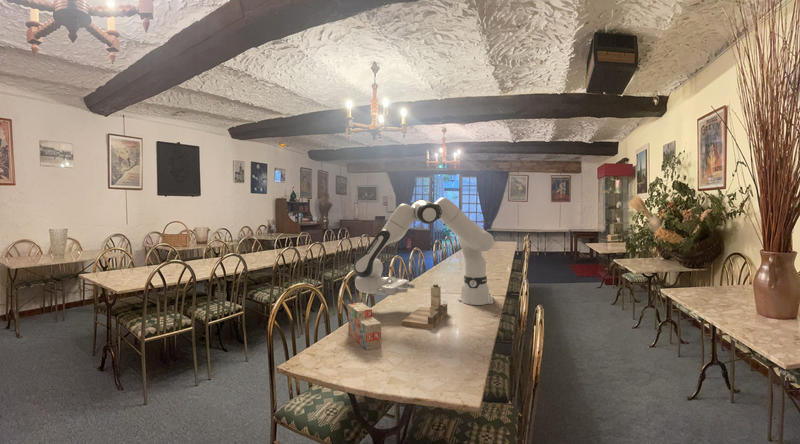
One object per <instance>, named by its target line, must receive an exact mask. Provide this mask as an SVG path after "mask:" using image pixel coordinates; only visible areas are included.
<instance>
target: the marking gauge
mask: <svg viewBox="0 0 800 444" xmlns="http://www.w3.org/2000/svg"><path fill="white" fill-rule="evenodd" d="M441 291H442V289H441V285H439V284H437V283H436V284H435V283H434V284H433V285H432V286H430V306H429V308H430V313H433V312H434V311H435V310H436V309H438V308H439V307H440V306H441V305H442V304H443V303H442V302H441V301H442V297H441V294H442V293H441Z"/></svg>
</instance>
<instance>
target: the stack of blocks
mask: <svg viewBox="0 0 800 444" xmlns="http://www.w3.org/2000/svg"><path fill="white" fill-rule="evenodd" d="M347 319H348V326H347V327H348V334H349V335H351V337H352V338H353V339H354V340H355V341H357V342H358V343H359V344H360V345H361V346H362V348H363V349H365V350H366V351H368V350H372V349H378V348H382V322H380V321H379V320H378V319H376V318H375V317H373V309H372V308H371V307H369V306H368V305H366V304H365V303H363V302H355V303H349V304H347Z"/></svg>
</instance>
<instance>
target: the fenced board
mask: <svg viewBox="0 0 800 444" xmlns="http://www.w3.org/2000/svg"><path fill="white" fill-rule="evenodd" d="M441 304H442V305H441V306H440V307H439V308H438V309H436V310H435V311H434V312H433V313H430V307H423V306H422V307H421V306H420V307H418V308H417V309H415V310H414V311H413V312H412V313H410V314H409V315H408V316H406V317H405V318H404V319H402V320H401V326H403V327H410V328H411V327H413V328H418V329H419V328H420V329H428V330H433V329H434V328H435V327H436V326H437V325H439V323H440V322H441V321H443V319H444V318H445V317H447V315H448V303H441Z"/></svg>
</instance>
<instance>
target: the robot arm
mask: <svg viewBox="0 0 800 444" xmlns="http://www.w3.org/2000/svg"><path fill="white" fill-rule="evenodd" d="M437 220H440V221H441V222H442V223H443V224H444V225H445V226H446V227H447V228H448V229H449V230H450V231H451V232H452V233H453V234H455V235H456V236H457V242H458V245H460V248H461V251H462V255H463V259H464V276H463V282H464V283H463V284H461V288H460V289H461V291H460V295H461V296H460V297H458V299H457V300H458V301H460V302H461V303H463V304H467V305H471V306H481V305H482V306H483V305H489V304H494V297H493V295H492V294H491V293H490V287H489V285H488V283H487V282H488V277H487V265H486V264H487V262H486V259H485V258H484V256H483V253H482V252H488V251H490V250H491V249H492V248H493V247H494V244H495V240H494V236H493V235H492V234H491V233H490V232H488V231H487V230H485V229H484V228H483V227H481V226H480V225H479V224H477V223H476V222H474V221H473V220H472V219H470V218H469V217H468V216H467V215H466V214H465V212H464V211H462V210H461V209H460V208H459V206H458V205H456V203H454V202H453V201H451V200H450V199H448V198H447V197H440V198H438V199H437V200H436V201H435V202H431V201H428V200H427V199H424V198H419V199H417V200H415V201H413V202H411V203H409V204H408V203H401V204H399V205H398V206H397V207H396V208H395V210H394V211H393V212H392V213H391V215H390V216H389V218H388V219H387V221H386V223H385V225H384V226H383V227H382V229H381V230H380V231H379V232H378V233H377V235H376V236H375V237H374V238H373V240H372V241H371V243H370V244H369V246H368V247H367V248H366V249H365V251H364V252H363V253H362V254H361V255H360V256H358V257H357V258H356V260H355V261H354V263H353V271H354V273H355V275H356V277H355V280H354V285H355V288H356V290H357V291H359V292H360V293H365V294H377V295H381V296H382V295H383V296H395V295H397V294H400V293H408V291H409V288H410V289H415V288H416V286H415V285H416V284H415V283H414V284H412V283H410V280H408V279H403V278H399V277H398V278H396V277H395V276H388V277H387V276H382V275H383V270H384V265H383V262H382V261H381V260H380V259H379V258H377V257H378V256H379V255H380V253H381V252H382V250H383V249H384V248H385V247H386V246H387V245H389V244H392V243H396V242H398V241H400V240H401V239H403V238H404V236H405V235H406V233H407V232H408V230H409V229H410V226H411V225H412V224H413V223H414V222H415V221H419V222H420V223H422V224H425V225H426V224H427V225H430V224H433V223H434V222H436V221H437Z"/></svg>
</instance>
